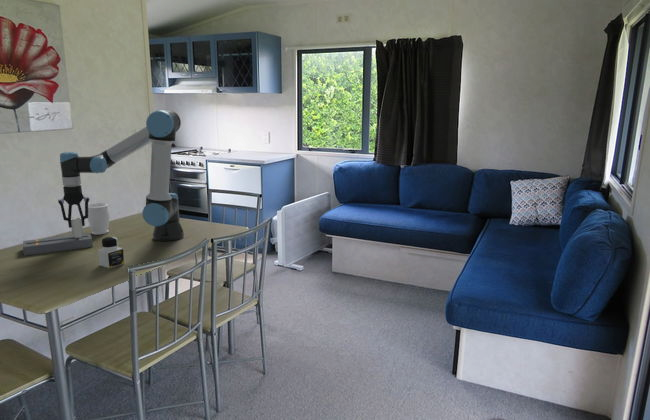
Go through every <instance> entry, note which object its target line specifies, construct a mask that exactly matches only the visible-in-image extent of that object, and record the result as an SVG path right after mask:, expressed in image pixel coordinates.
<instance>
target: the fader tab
mask: <svg viewBox="0 0 650 420" xmlns="http://www.w3.org/2000/svg"><path fill="white" fill-rule="evenodd" d="M80 219H81V217H80V216H71V220H73V227H74V236H75V238H81V237H82V234H83V233H81V224H80Z"/></svg>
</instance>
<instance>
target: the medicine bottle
mask: <svg viewBox="0 0 650 420" xmlns="http://www.w3.org/2000/svg"><path fill="white" fill-rule="evenodd" d="M101 245H102V247H101V248H100V249H98V250H97V251H98V263H99V266H101V267H104V268H107V269H112V268H115V267H118V266H122V265H124V264H125V259H124V258H125V257H124V248H123V247H119V243H118V238H117V237H115V236H107V237H104V238H102V240H101Z"/></svg>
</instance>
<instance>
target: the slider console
mask: <svg viewBox="0 0 650 420" xmlns="http://www.w3.org/2000/svg"><path fill="white" fill-rule="evenodd" d="M93 246H94V245H93V238H92V234H91V233H90V232H87V233H82V237H81V238H75V236H74V235H73V234H71V235H63V236H62V235H61V236H54V237H46V238H35V239H30V240H23V241H22V251H23V256H32V255H40V254H48V253H55V252H62V251H64V252H65V251H70V250H76V249H78V250H79V249H85V248H92V247H93Z"/></svg>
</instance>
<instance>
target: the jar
mask: <svg viewBox="0 0 650 420" xmlns="http://www.w3.org/2000/svg"><path fill="white" fill-rule="evenodd" d="M110 216H111V215H110V211H109V203H106V202H105V203H103V202H96V203H91V204H88V218H87V222H88V224H89V225H88V226H89V228H90V229H91V233H90V234H91V235H96V236H97V235H98V236H99V235H104V234H108V233H109V231H110V230H109V226H110Z"/></svg>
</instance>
